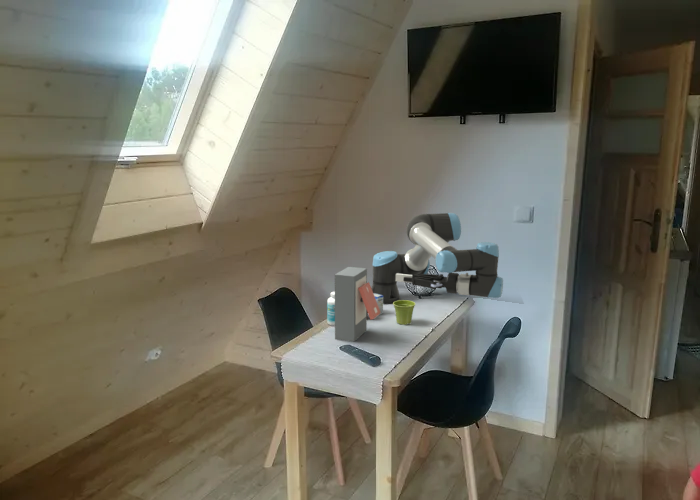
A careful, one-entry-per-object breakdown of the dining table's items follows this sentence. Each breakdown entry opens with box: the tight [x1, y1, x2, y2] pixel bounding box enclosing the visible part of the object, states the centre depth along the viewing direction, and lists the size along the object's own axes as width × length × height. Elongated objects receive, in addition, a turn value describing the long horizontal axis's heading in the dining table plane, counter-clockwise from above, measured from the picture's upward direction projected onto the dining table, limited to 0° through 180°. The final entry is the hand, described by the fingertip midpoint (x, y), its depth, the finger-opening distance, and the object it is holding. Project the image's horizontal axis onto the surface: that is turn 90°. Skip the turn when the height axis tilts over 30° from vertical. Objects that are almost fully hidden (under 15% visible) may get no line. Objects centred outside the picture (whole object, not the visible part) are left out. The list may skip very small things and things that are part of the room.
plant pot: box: [392, 299, 416, 326], centre depth 232 cm, size 9×9×9 cm
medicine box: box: [373, 293, 384, 316], centre depth 245 cm, size 8×4×9 cm, turn 50°
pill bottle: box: [326, 291, 335, 327], centre depth 230 cm, size 8×7×14 cm
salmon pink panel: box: [358, 281, 381, 321], centre depth 212 cm, size 8×2×13 cm, turn 158°
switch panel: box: [334, 266, 368, 343], centre depth 215 cm, size 14×10×26 cm
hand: (396, 277), depth 206 cm, fingers closed
